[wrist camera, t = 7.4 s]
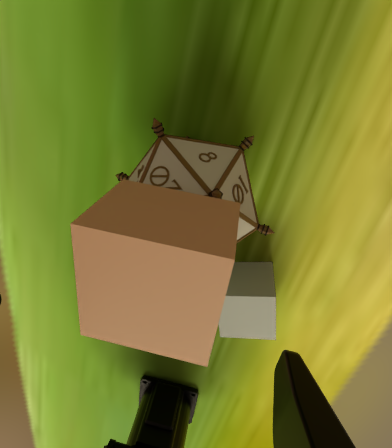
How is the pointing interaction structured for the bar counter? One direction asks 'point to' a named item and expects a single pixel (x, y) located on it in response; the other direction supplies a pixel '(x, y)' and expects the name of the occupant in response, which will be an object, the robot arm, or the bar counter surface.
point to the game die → (201, 173)
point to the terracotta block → (155, 268)
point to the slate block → (250, 302)
